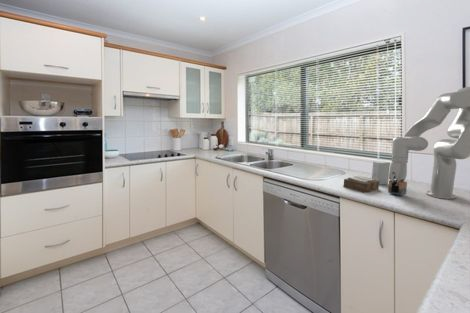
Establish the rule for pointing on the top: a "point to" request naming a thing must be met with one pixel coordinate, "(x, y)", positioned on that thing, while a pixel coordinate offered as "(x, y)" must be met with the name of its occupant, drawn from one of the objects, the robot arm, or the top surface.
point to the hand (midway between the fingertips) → (397, 191)
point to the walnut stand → (361, 183)
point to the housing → (399, 188)
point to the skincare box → (381, 171)
